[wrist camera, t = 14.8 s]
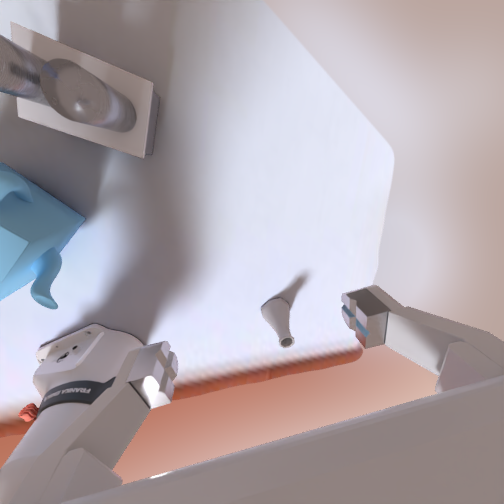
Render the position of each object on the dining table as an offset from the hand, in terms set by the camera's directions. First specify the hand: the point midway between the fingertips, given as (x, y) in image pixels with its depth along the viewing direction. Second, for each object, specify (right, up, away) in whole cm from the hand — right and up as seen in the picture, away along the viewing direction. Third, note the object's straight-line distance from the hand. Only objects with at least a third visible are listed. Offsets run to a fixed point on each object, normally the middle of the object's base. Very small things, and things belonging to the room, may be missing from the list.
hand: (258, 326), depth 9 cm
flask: (+5, -11, +40) cm, 42 cm away
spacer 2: (-17, +21, +16) cm, 32 cm away
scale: (-21, +24, +20) cm, 38 cm away
